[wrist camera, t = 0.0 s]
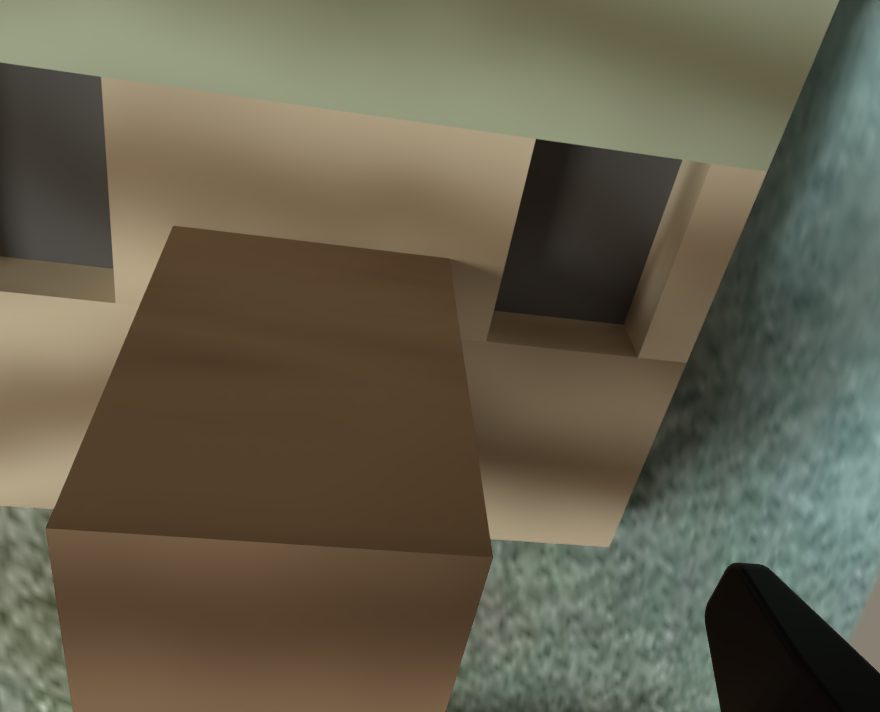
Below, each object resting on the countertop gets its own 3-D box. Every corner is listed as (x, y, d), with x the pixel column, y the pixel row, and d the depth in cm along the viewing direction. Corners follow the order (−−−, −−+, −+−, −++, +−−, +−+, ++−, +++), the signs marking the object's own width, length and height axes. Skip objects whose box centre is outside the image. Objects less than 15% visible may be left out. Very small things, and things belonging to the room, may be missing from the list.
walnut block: (409, 455, 26) (425, 776, 18) (176, 435, 25) (81, 767, 17) (449, 258, 22) (492, 557, 14) (172, 225, 21) (45, 528, 13)
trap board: (596, 504, 31) (619, 582, 28) (-48, 455, 27) (-96, 537, 24) (836, -107, 19) (916, -83, 16) (-222, -319, 16) (-351, -333, 13)
